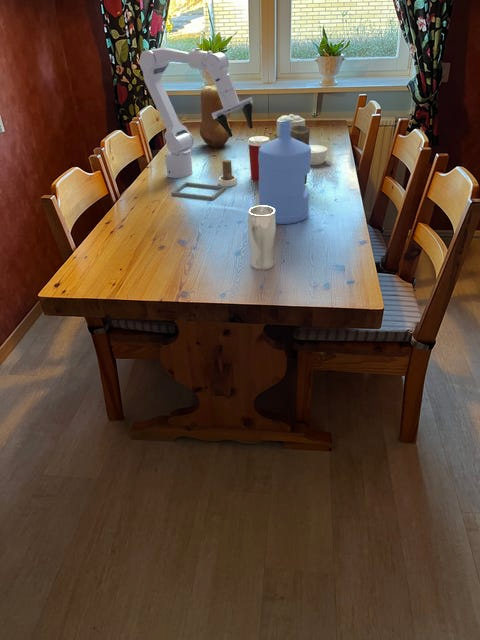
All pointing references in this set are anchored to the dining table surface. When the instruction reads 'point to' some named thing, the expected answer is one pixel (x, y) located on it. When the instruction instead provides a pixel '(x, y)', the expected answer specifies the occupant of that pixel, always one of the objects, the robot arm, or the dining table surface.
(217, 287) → the dining table surface
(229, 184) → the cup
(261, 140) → the coffee cup
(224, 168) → the dowel
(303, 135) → the brown rounded cylinder
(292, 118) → the lumpy-topped squat cylinder
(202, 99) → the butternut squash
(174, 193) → the tray
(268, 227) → the beer glass
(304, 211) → the water jug
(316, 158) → the ramekin
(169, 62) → the robot arm
